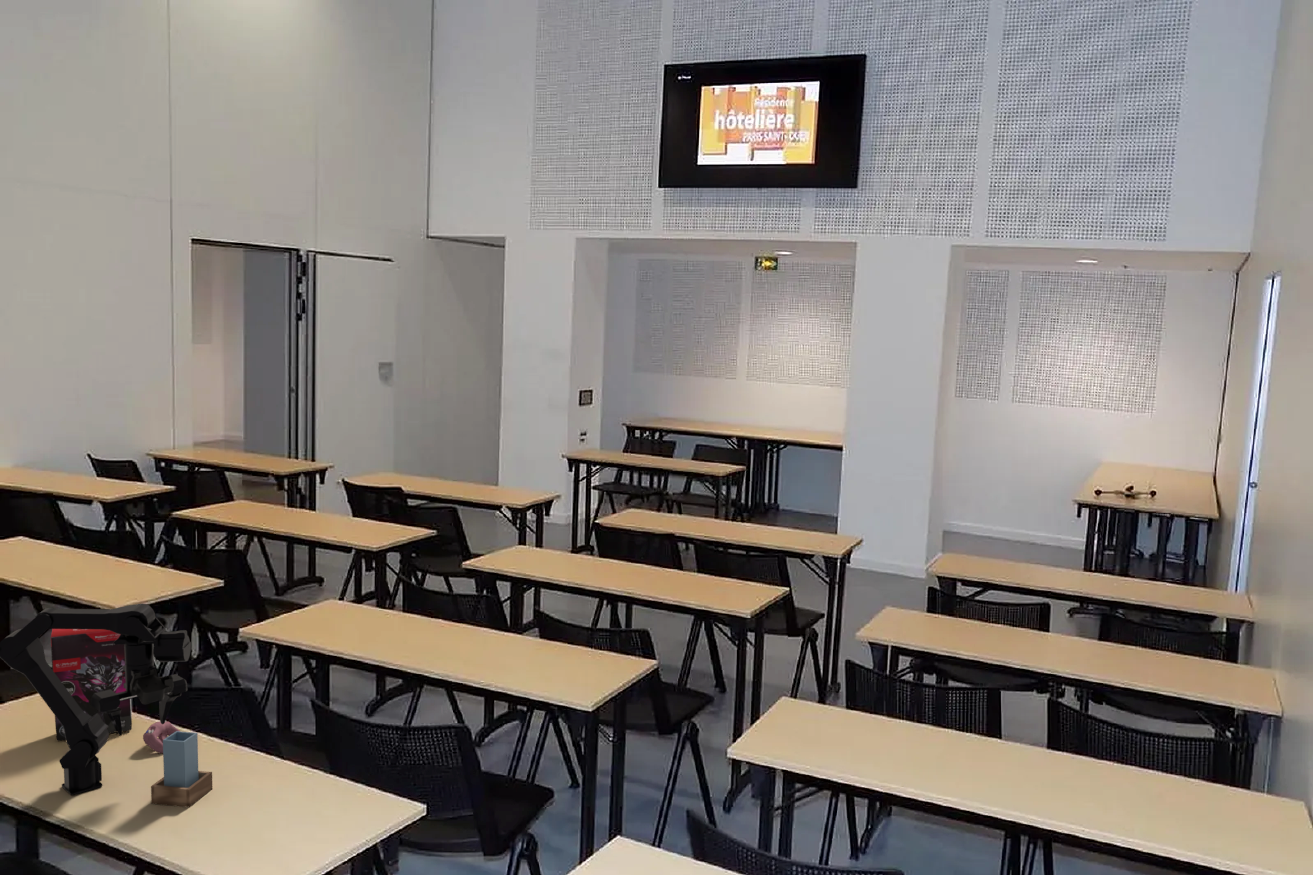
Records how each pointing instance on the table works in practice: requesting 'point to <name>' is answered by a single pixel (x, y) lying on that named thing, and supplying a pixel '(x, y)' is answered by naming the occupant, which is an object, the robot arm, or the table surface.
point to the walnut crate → (181, 791)
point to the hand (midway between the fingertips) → (141, 729)
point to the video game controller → (158, 735)
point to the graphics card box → (90, 670)
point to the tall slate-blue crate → (180, 759)
